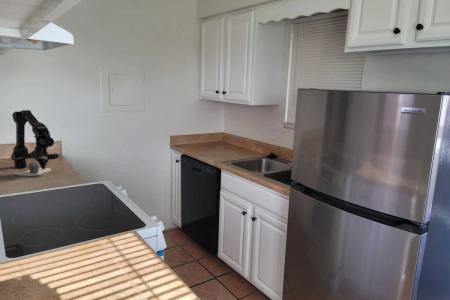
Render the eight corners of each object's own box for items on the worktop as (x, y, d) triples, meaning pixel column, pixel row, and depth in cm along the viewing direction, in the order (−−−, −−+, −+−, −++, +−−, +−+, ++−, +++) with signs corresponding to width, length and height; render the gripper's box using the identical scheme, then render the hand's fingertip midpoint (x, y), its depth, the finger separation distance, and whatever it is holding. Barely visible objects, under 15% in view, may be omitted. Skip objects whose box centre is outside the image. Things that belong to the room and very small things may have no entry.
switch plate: (17, 175, 209) (17, 173, 209) (34, 169, 225) (34, 167, 225) (34, 176, 208) (34, 174, 207) (51, 170, 223) (51, 168, 223)
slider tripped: (30, 172, 210) (29, 166, 209) (34, 171, 214) (34, 165, 213) (34, 173, 209) (34, 166, 209) (38, 171, 213) (38, 165, 213)
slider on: (29, 169, 219) (28, 163, 218) (33, 168, 222) (32, 162, 222) (33, 169, 218) (32, 163, 217) (37, 168, 222) (36, 162, 221)
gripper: (18, 146, 201) (20, 171, 204) (46, 147, 198) (48, 172, 201) (31, 143, 212) (33, 167, 215) (58, 144, 209) (59, 168, 212)
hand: (43, 169), depth 210 cm, fingers closed
